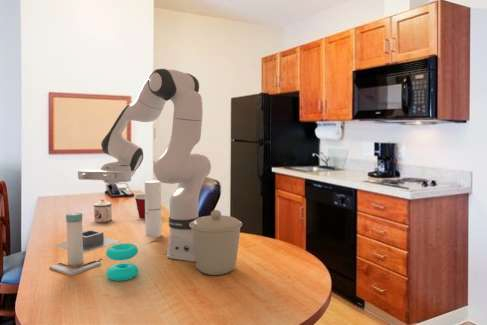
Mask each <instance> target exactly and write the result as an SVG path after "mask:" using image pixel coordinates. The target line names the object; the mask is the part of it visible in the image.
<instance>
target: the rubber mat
mask: <svg viewBox="0 0 487 325" xmlns="http://www.w3.org/2000/svg"><path fill="white" fill-rule="evenodd" d="M101 265H102V262H101V261H97V260H93V261H90V262H87V263H83V264H80V265H77V266H72V267H69V266H70V265H69V266H68V264H65V263H61V262H59V263H55V264H53V265H49V268H48V269H50V270H53V271H56V272H59V273H61V274H63V275H68V276H73V275H76V274H79V273H83V272H84V271H88V270H91V269H93V268H95V267H98V266H101Z"/></svg>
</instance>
